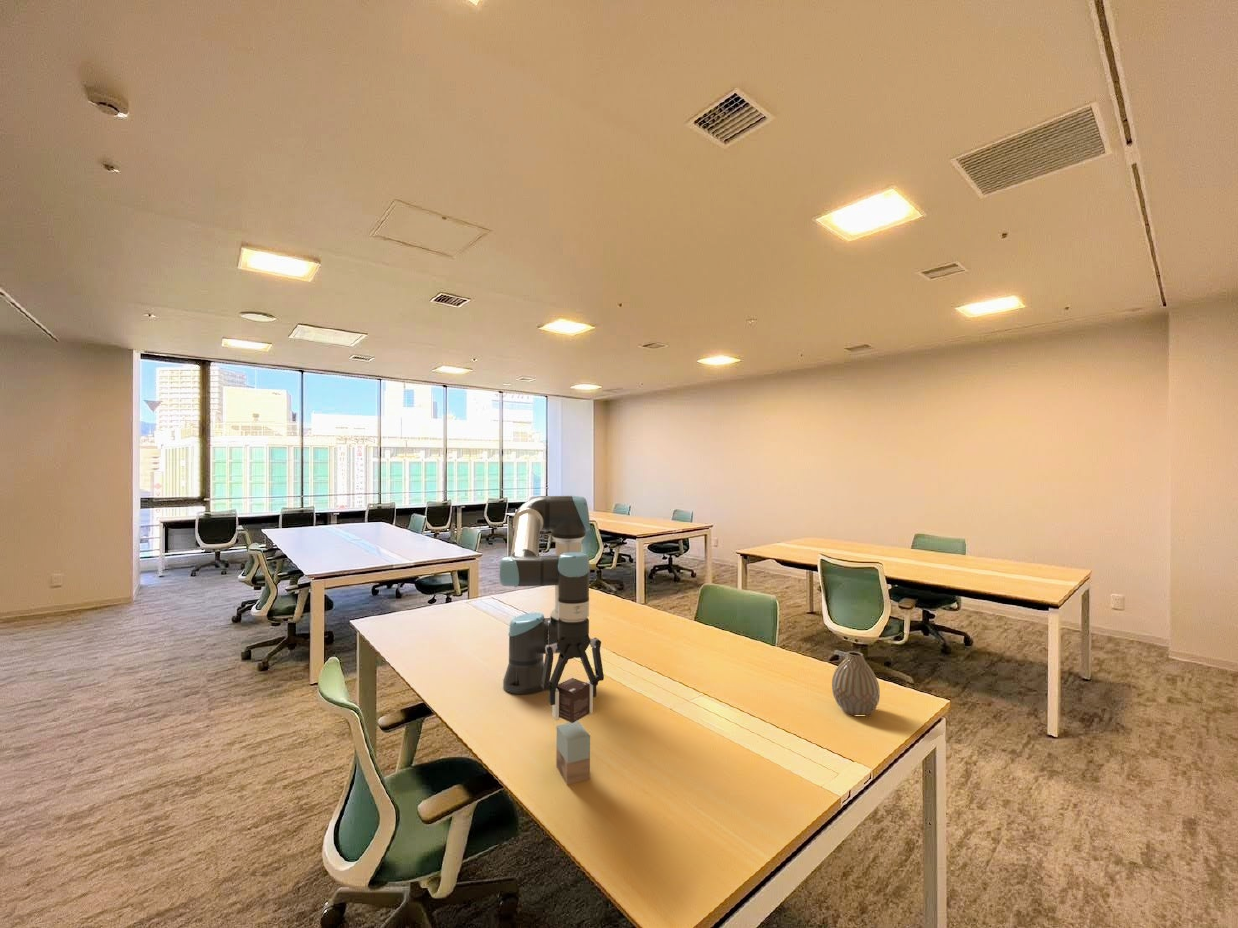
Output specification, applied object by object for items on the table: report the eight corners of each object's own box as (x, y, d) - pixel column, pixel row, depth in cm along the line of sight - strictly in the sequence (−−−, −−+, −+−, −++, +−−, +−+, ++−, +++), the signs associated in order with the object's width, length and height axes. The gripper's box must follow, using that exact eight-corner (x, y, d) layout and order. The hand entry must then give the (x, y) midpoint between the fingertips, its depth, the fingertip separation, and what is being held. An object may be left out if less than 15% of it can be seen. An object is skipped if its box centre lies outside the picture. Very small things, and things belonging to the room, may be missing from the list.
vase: (881, 708, 152) (880, 650, 153) (878, 726, 141) (878, 664, 142) (835, 698, 159) (834, 643, 160) (829, 715, 148) (828, 656, 148)
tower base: (556, 767, 120) (556, 746, 121) (577, 761, 123) (578, 741, 123) (567, 785, 113) (567, 763, 113) (589, 779, 116) (589, 757, 116)
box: (572, 707, 123) (572, 677, 123) (590, 714, 119) (590, 683, 119) (554, 715, 118) (554, 684, 118) (572, 724, 114) (572, 691, 114)
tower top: (556, 746, 121) (556, 725, 121) (578, 741, 123) (578, 720, 123) (567, 763, 113) (567, 741, 113) (590, 757, 116) (590, 735, 116)
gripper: (535, 627, 112) (534, 730, 111) (618, 617, 120) (618, 712, 119) (527, 618, 118) (526, 715, 118) (606, 610, 127) (606, 700, 126)
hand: (572, 714), depth 118 cm, fingers closed on box, 8 cm apart
